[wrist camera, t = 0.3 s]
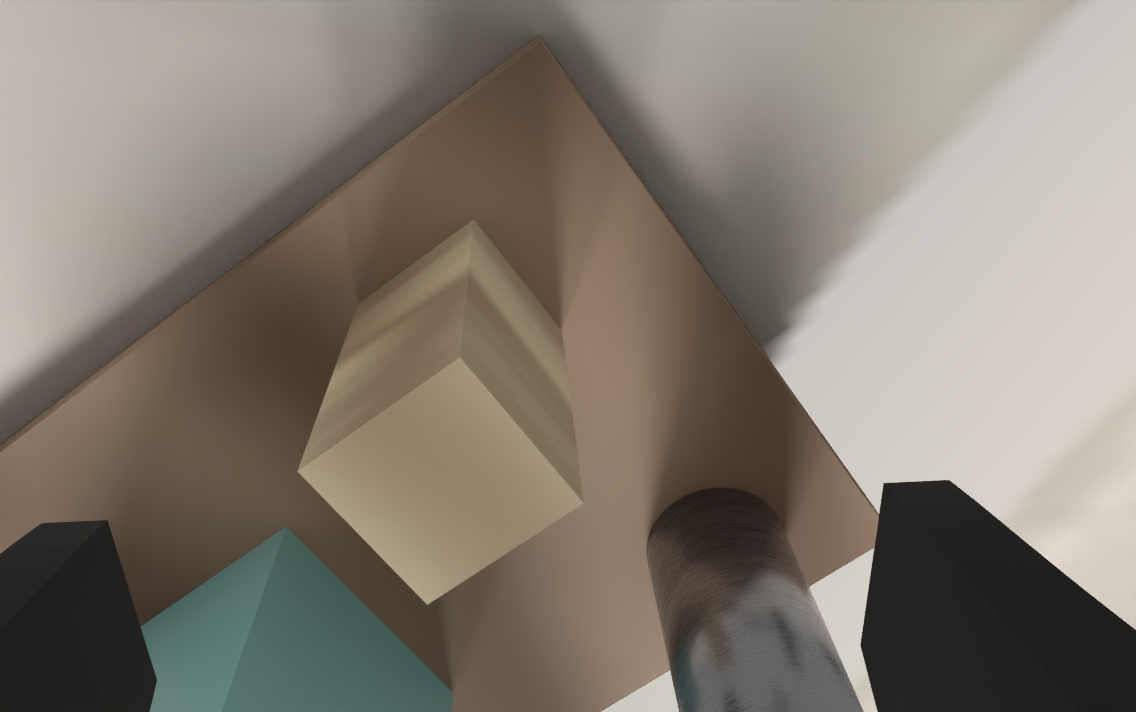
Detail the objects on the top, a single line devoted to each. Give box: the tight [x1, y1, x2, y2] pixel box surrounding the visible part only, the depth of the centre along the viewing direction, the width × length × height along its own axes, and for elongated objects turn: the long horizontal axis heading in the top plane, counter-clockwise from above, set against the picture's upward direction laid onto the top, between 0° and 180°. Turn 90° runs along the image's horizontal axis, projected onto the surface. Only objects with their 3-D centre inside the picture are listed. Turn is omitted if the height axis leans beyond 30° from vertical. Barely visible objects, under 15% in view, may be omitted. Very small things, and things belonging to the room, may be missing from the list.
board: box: [0, 35, 879, 712], centre depth 21 cm, size 15×12×1 cm
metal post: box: [646, 487, 863, 712], centre depth 19 cm, size 3×3×6 cm
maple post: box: [298, 219, 584, 605], centre depth 16 cm, size 3×3×6 cm
